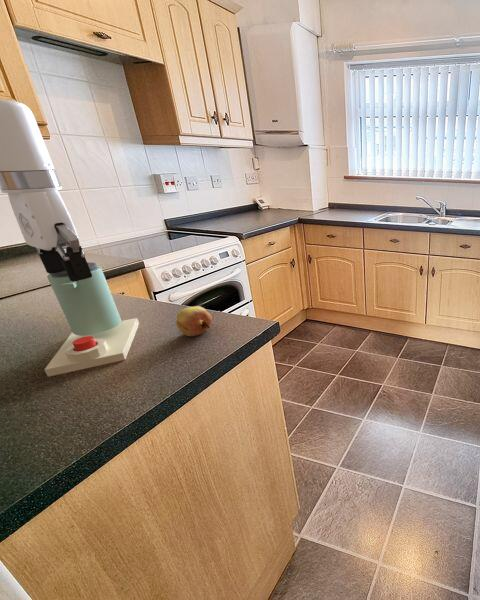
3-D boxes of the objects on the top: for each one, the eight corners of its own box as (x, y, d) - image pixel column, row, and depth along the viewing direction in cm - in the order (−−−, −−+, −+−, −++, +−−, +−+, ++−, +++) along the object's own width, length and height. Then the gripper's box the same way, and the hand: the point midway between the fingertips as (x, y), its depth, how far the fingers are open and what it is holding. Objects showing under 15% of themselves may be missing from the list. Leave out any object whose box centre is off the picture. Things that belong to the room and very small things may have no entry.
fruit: (160, 312, 76) (184, 322, 71) (188, 295, 81) (212, 303, 76) (176, 335, 80) (200, 345, 75) (202, 317, 85) (226, 326, 80)
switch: (94, 349, 67) (91, 341, 66) (73, 353, 66) (69, 345, 65) (98, 342, 70) (95, 334, 69) (78, 345, 68) (75, 338, 68)
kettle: (115, 333, 72) (91, 272, 66) (64, 343, 68) (34, 279, 63) (126, 311, 82) (106, 257, 77) (82, 319, 79) (57, 262, 73)
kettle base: (125, 360, 69) (119, 345, 68) (47, 377, 64) (39, 361, 62) (139, 324, 84) (134, 311, 82) (77, 335, 78) (71, 322, 77)
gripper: (-20, 182, 59) (25, 274, 66) (19, 185, 51) (65, 289, 58) (38, 179, 65) (73, 263, 72) (80, 182, 57) (115, 276, 64)
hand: (69, 275), depth 65 cm, fingers open, 9 cm apart
